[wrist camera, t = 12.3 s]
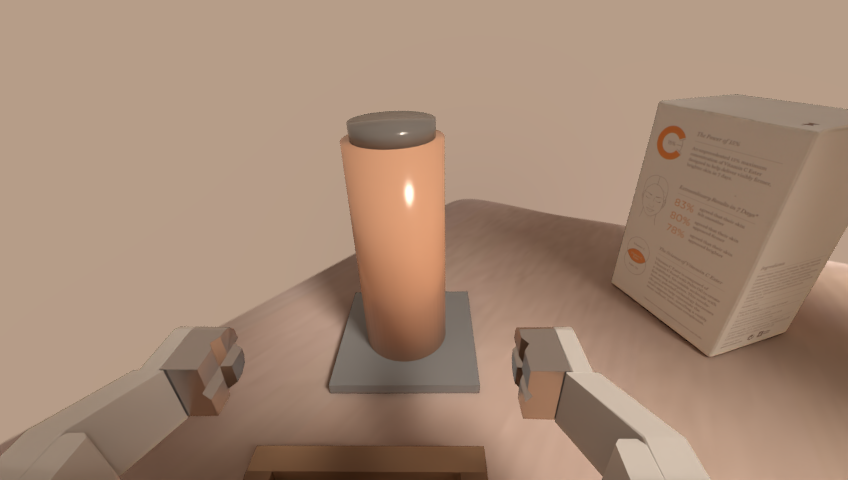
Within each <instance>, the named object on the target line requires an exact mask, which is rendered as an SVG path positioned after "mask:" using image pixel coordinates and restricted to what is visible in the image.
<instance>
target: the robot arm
mask: <svg viewBox="0 0 848 480" xmlns="http://www.w3.org/2000/svg"><path fill="white" fill-rule="evenodd" d="M237 338H238V337H237V334H236V332H235V330H234V329H233V328H230V327H178V328H176V329H174V330H173V331H172V333H171V334H170V335H169V336H168V337H167V338H166V339H165V341H164V342H163V343H162V344H161V345H160V347H158V349H157V350H156V351H155V352H154V353H153V354H152V356H151V357H150V358H149V359H148V360H147V361H146V362H145V363H144V365H143V366H142V367H141V368H140V369H139V370H133V371H131V372H129V373H127V374H126V375H124V376H122V377H120V378H119V379H117V380H115V381H113V382H111V383H110V384H108V385H106V386H104V387H103V388H101V389H99V390H97V391H95V392H94V393H92V394H90V395H88V396H87V397H85V398H83V399H81V400H80V401H78V402H76V403H74V404H72V405H71V406H69V407H67V408H65V409H63V410H62V411H60V412H58V413H56V414H55V415H53V416H51V417H49V418H48V419H46V420H44V421H42V422H40V423H39V424H37V425H35V426H33V427H32V428H30V429H28V430H26V431H25V432H24V433H23V434H22V435H21V436H20V437H19V438H18V439H17V440H16V441H15V442H14V443H13V444H12V445H11V446H10V447H9V448H8V449H7V450H6V451H5V452H4V453H3V454H2V455H1V456H0V480H121V479H120V478H119V477H120V476H121V475H122V474H123V473H124V472H126V471H127V470H128V469H129V468H130V467H131V466H133V465H134V464H135V463H136V462H137V461H138V460H140V459H141V458H142V457H143V456H144V455H145V454H147V453H148V452H149V451H150V450H151V449H152V448H154V447H155V446H156V445H157V444H158V443H160V442H161V441H162V440H163V439H164V438H165V437H167V436H168V435H169V434H170V433H171V432H172V431H174V430H175V429H176V428H177V427H178V426H179V425H181V424H182V423H183V422H184V421H185V420H186V419H188V416H219V414H220V412H221V411H222V409H223V407H224V405H225V403H226V402H227V400H228V398H229V396H230V392H229V388H230V387H231V386H232V385H234V384H235V383H236V382H238V380H239V378H240V376H241V374H242V372H243V368H244V363H245V361H244V353H243V351H242V348H240V347H239V346H238V345H237V344H235V341H236V340H237ZM514 338H515V343H516V347H515V348H514V349H513V353H512V370H513V377H514V381H515V384H516V385H517V386H518V387H519V393H518V400H519V404H520V408H521V412H522V417H523V419H548V420H555V422H556V423H557V424H558V426H559V427H560V428H561V429H562V430H563V431H564V432H565V434H566V435H567V436H568V437H569V438H570V439H571V441H572V442H573V443H574V444H575V445H576V446H577V447H578V449H579V450H580V451H581V452H582V453H583V454H584V455H585V457H586V458H587V459H588V460H589V461H590V462H591V464H592V465H593V466H594V467H595V468H596V469H597V470H598V472H599V473H600V474H601V475H602V476H603V478H602V480H711V479H710V477H709V476H708V474H707V472H706V471H705V469H704V467H703V466H702V464H701V462H700V461H699V459H698V457H697V456H696V454H695V452H694V451H693V449H692V448H691V446H690V444H689V443H688V441H687V439H686V438H685V437H684V436H682V435H681V434H680V433H678V432H677V431H676V430H674V429H673V428H672V427H670V426H669V425H668V424H666V423H665V422H664V421H662V420H661V419H660V418H658V417H657V416H656V415H654V414H653V413H652V412H651V411H649V410H648V409H647V408H645V407H644V406H643V405H641V404H640V403H639V402H637V401H636V400H635V399H633V398H632V397H631V396H629V395H628V394H627V393H625V392H624V391H623V390H621V389H620V388H619V387H618V386H616V385H615V384H614V383H612V382H611V381H610V380H608V379H607V378H606V377H604V376H603V375H602V374H600V373H596V372H593V370H592V368H591V366H590V364H589V362H588V360H587V357H586V355H585V353H584V351H583V349H582V347H581V344H580V342H579V340H578V338H577V336H576V334H575V332H574V329H573V328H571V327H552V328H551V327H520V328H516V331H515V337H514Z"/></svg>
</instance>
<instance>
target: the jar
mask: <svg viewBox="0 0 848 480" xmlns="http://www.w3.org/2000/svg"><path fill="white" fill-rule="evenodd" d="M347 130H348V135H346V136H344V137H343V138H342V139H341V140H340V144H341V152H342V159H343V166H344V173H345V180H346V187H347V194H348V201H349V208H350V215H351V222H352V229H353V236H354V243H355V250H356V257H357V264H358V271H359V278H360V285H361V292H362V299H363V306H364V313H365V320H366V327H367V334H368V340H369V343H370V345H371V347H372V349H373V350H374V351H375V352H376V353H378V354H379V355H380V356H382V357H384V358H387V359H389V360H393V361H401V362H407V361H415V360H419V359H422V358H425V357H427V356H429V355H431V354H432V353H434V352H435V351H436V350H437V349H438V348H439V347H440V346H441V345H442V343H443V341H444V339H445V334H446V306H445V154H444V153H445V146H444V145H445V140H444V139H445V137H444V134H443V133H442V132H440V131H438V130H436V119H435V117H434V116H433V115H431V114H427V113H422V112H413V111H389V112H377V113H370V114H364V115H361V116H357V117H354V118H351V119H349V120H348V121H347Z"/></svg>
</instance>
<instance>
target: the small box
mask: <svg viewBox="0 0 848 480" xmlns="http://www.w3.org/2000/svg"><path fill="white" fill-rule="evenodd" d="M847 226H848V109H843V108H835V107H828V106H820V105H813V104H806V103H798V102H790V101H782V100H775V99H768V98H760V97H753V96H746V95H738V94H735V95H722V96H710V97H698V98H687V99H676V100H665V101H660V102H659V104H658V108H657V112H656V116H655V120H654V124H653V127H652V131H651V135H650V139H649V142H648V146H647V150H646V154H645V157H644V161H643V165H642V168H641V172H640V175H639V179H638V183H637V187H636V191H635V195H634V198H633V202H632V206H631V210H630V213H629V217H628V220H627V225H626V228H625V231H624V235H623V239H622V243H621V247H620V250H619V254H618V258H617V262H616V266H615V269H614V273H613V277H612V281H611V282H612V283H613V284H614V285H615V286H617V287H618V288H619V289H621V290H622V291H623V292H625V293H626V294H627V295H629V296H630V297H631V298H633V299H634V300H635V301H637V302H638V303H639V304H641V305H642V306H643V307H644V308H646V309H647V310H648V311H650V312H651V313H652V314H654V315H655V316H656V317H657V318H659V319H660V320H661V321H663V322H664V323H665V324H667V325H668V326H669V327H670V328H672V329H673V330H674V331H676V332H677V333H678V334H680V335H681V336H682V337H684V338H685V339H686V340H687V341H689V342H690V343H691V344H693V345H694V346H695V347H697V348H698V349H699V350H700V351H702V352H703V353H704V354H705V355H707V356H708V357H713V356H716V355H719V354H722V353H725V352H728V351H731V350H734V349H737V348H740V347H743V346H746V345H749V344H752V343H755V342H758V341H761V340H764V339H766V338H769V337H772V336H775V335H778V334H781V333H784V332H786V330H787V329H788V327H789V326H790V324H791V322H792V321H793V319H794V317H795V315H796V314H797V312H798V310H799V309H800V307H801V305H802V303H803V302H804V300H805V298H806V297H807V295H808V293H809V292H810V290H811V288H812V287H813V285H814V283H815V282H816V280H817V278H818V276H819V275H820V273H821V271H822V270H823V268H824V266H825V265H826V263H827V261H828V259H829V258H830V256H831V254H832V252H833V251H834V249H835V247H836V245H837V244H838V242H839V240H840V238H841V236H842V235H843V233H844V231H845V229H846V228H847Z"/></svg>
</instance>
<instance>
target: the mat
mask: <svg viewBox="0 0 848 480" xmlns="http://www.w3.org/2000/svg"><path fill="white" fill-rule="evenodd" d="M445 306H446V334H445V339H444V341H443V343H442V345H441V346H440V347H439V348H438V349H437V350H436V351H435V352H434V353H432V354H431V355H429V356H427V357H425V358H422V359H419V360H415V361H407V362H401V361H393V360H389V359H387V358H384V357H382V356H380V355H379V354H378V353H376V352H375V351H374V350H373V349H372V347H371V345H370V343H369V340H368V334H367V327H366V320H365V313H364V306H363V299H362V293H355V297H354V300H353V304H352V307H351V311H350V314H349V317H348V321H347V324H346V328H345V331H344V335H343V338H342V342H341V345H340V348H339V352H338V355H337V359H336V362H335V366H334V369H333V373H332V376H331V380H330V383H329V389H330V393H479V391H480V382H479V375H478V367H477V359H476V352H475V344H474V337H473V329H472V321H471V314H470V306H469V298H468V292H445Z"/></svg>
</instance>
